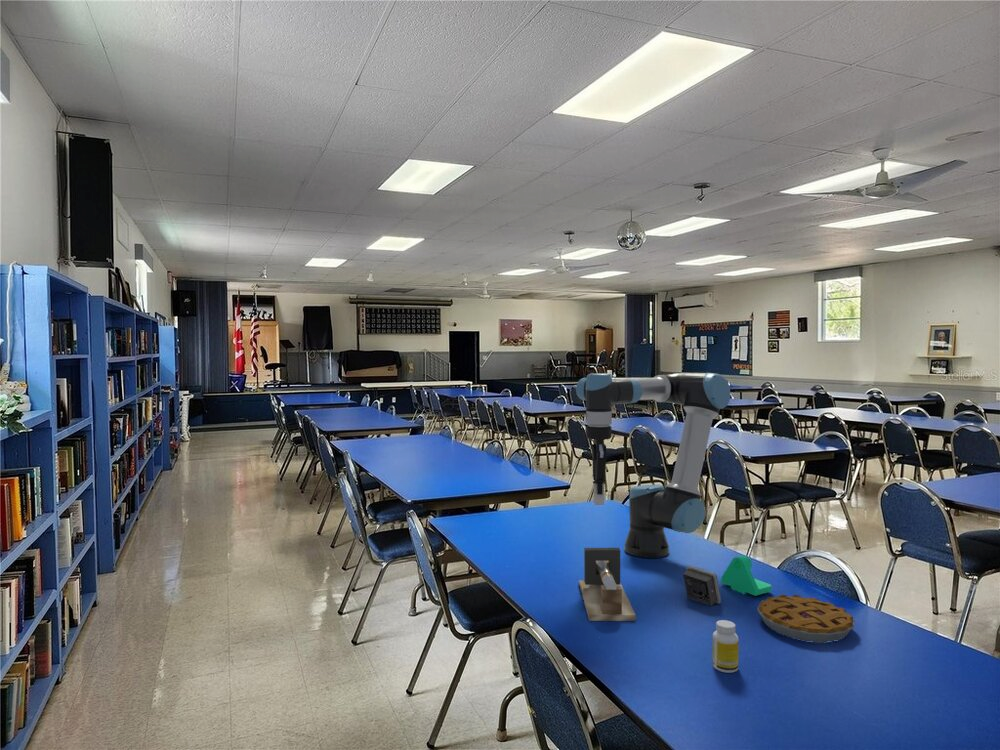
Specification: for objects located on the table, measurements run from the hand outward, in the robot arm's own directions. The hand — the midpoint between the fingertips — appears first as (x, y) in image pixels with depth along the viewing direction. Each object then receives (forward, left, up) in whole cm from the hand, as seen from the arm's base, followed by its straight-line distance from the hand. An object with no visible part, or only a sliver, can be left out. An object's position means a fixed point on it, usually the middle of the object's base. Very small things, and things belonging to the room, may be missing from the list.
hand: (598, 503), depth 187 cm
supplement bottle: (-21, +49, -25) cm, 59 cm away
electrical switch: (-27, +12, -25) cm, 39 cm away
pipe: (0, +13, -18) cm, 22 cm away
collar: (0, +7, -21) cm, 23 cm away
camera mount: (-43, +4, -25) cm, 49 cm away
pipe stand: (0, +13, -24) cm, 28 cm away
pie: (-48, +28, -25) cm, 61 cm away
